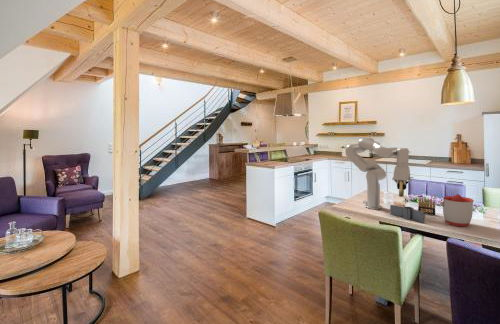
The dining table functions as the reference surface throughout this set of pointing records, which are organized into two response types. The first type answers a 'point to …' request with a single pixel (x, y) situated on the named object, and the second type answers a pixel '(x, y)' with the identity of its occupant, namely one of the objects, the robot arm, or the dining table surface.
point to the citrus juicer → (457, 210)
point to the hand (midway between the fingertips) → (401, 188)
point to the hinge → (407, 213)
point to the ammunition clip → (426, 206)
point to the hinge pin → (401, 188)
